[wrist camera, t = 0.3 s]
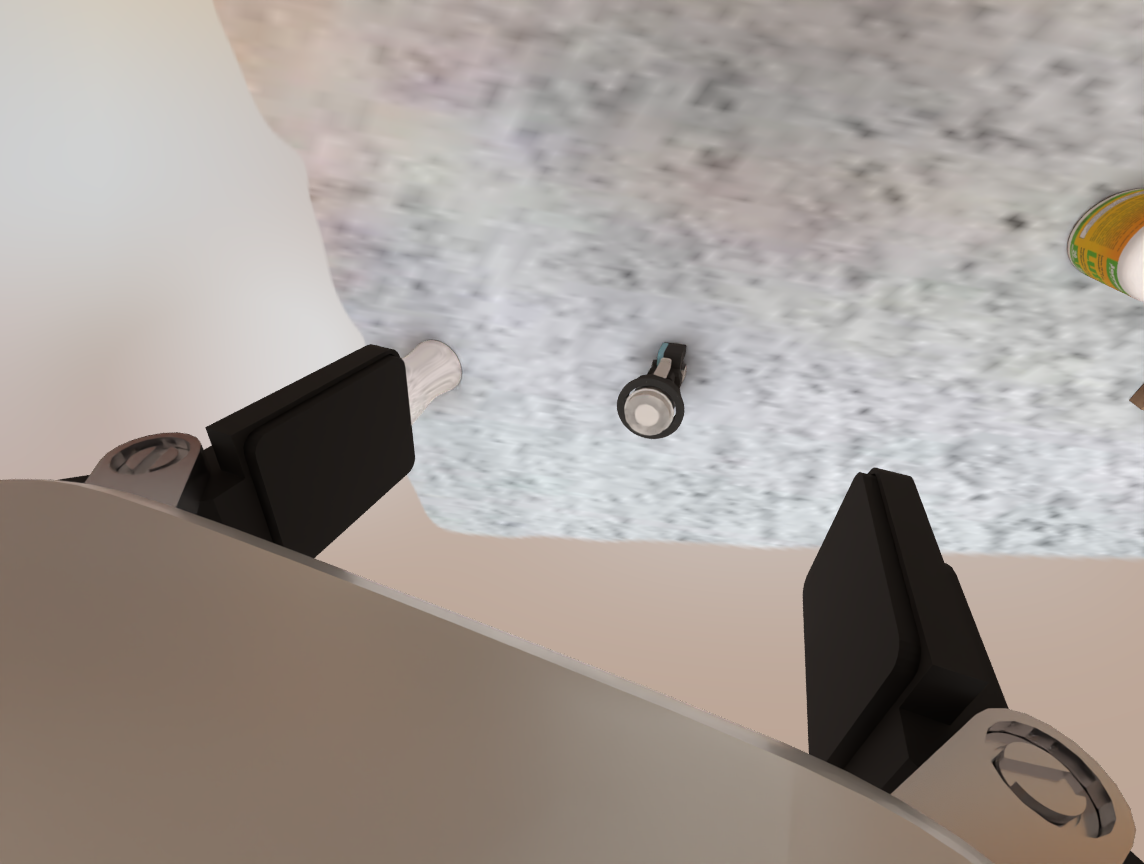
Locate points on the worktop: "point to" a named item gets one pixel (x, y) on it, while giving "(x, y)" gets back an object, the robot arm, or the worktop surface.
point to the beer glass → (430, 374)
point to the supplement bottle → (1112, 243)
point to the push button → (655, 396)
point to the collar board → (1139, 398)
